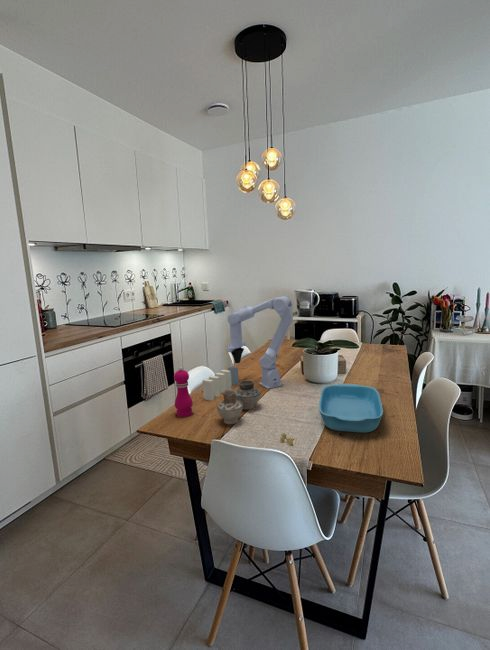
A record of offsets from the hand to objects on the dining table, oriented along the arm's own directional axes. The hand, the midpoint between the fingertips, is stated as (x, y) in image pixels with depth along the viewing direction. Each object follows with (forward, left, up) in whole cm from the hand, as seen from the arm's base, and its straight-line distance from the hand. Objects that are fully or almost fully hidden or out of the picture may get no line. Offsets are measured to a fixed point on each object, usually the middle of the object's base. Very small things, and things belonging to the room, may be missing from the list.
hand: (237, 362), depth 177 cm
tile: (-9, +13, -10) cm, 19 cm away
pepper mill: (-24, +35, -10) cm, 43 cm away
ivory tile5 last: (-15, +21, -10) cm, 27 cm away
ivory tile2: (-6, +9, -10) cm, 15 cm away
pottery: (-35, +15, -10) cm, 39 cm away
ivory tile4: (-12, +17, -10) cm, 23 cm away
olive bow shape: (-63, +10, -11) cm, 65 cm away
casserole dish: (-59, -21, -10) cm, 63 cm away
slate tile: (-3, +4, -10) cm, 11 cm away
